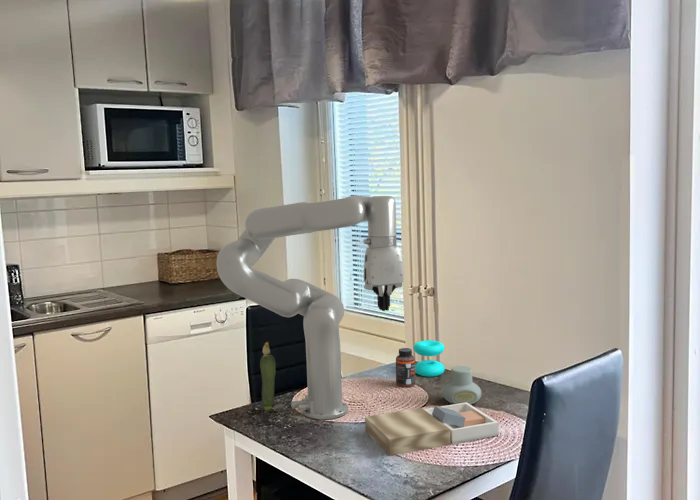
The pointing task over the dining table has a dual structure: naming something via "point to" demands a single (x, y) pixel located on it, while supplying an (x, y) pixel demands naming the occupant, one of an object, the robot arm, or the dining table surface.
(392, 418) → the board
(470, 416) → the tile
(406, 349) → the supplement bottle
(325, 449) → the dining table surface
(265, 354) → the vegetable
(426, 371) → the donuts
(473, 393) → the air freshener
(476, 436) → the box
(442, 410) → the tile
